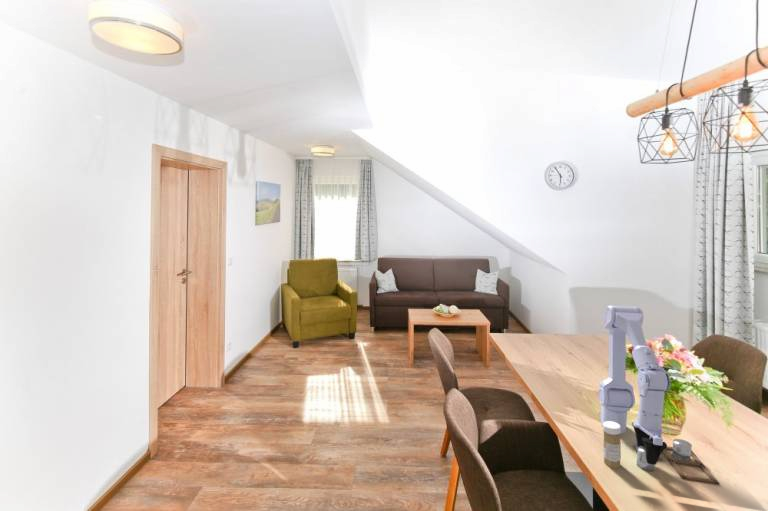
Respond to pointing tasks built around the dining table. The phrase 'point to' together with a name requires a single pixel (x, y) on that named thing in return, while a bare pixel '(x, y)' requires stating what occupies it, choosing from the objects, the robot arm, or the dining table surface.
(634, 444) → the grey square frame
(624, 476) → the dining table surface
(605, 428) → the sprinkles bottle
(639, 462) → the cylinder
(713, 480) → the pallet
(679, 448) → the seated billet
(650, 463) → the robot arm
